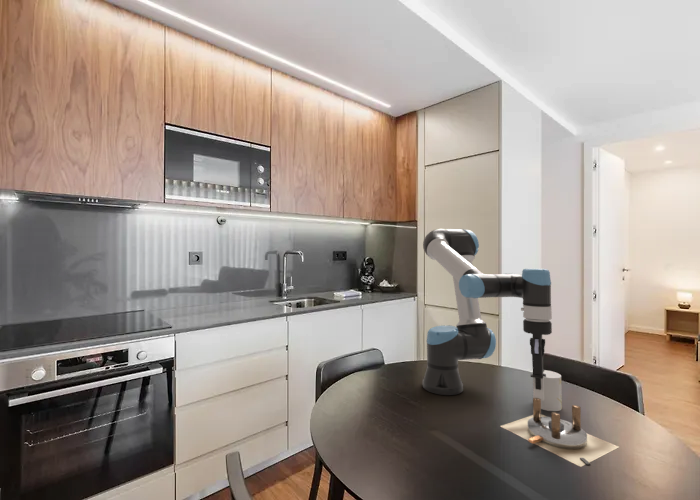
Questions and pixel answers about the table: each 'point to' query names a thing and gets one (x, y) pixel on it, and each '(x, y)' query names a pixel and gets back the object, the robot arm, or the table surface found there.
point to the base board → (576, 456)
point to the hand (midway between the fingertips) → (538, 399)
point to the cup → (552, 392)
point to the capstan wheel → (557, 428)
